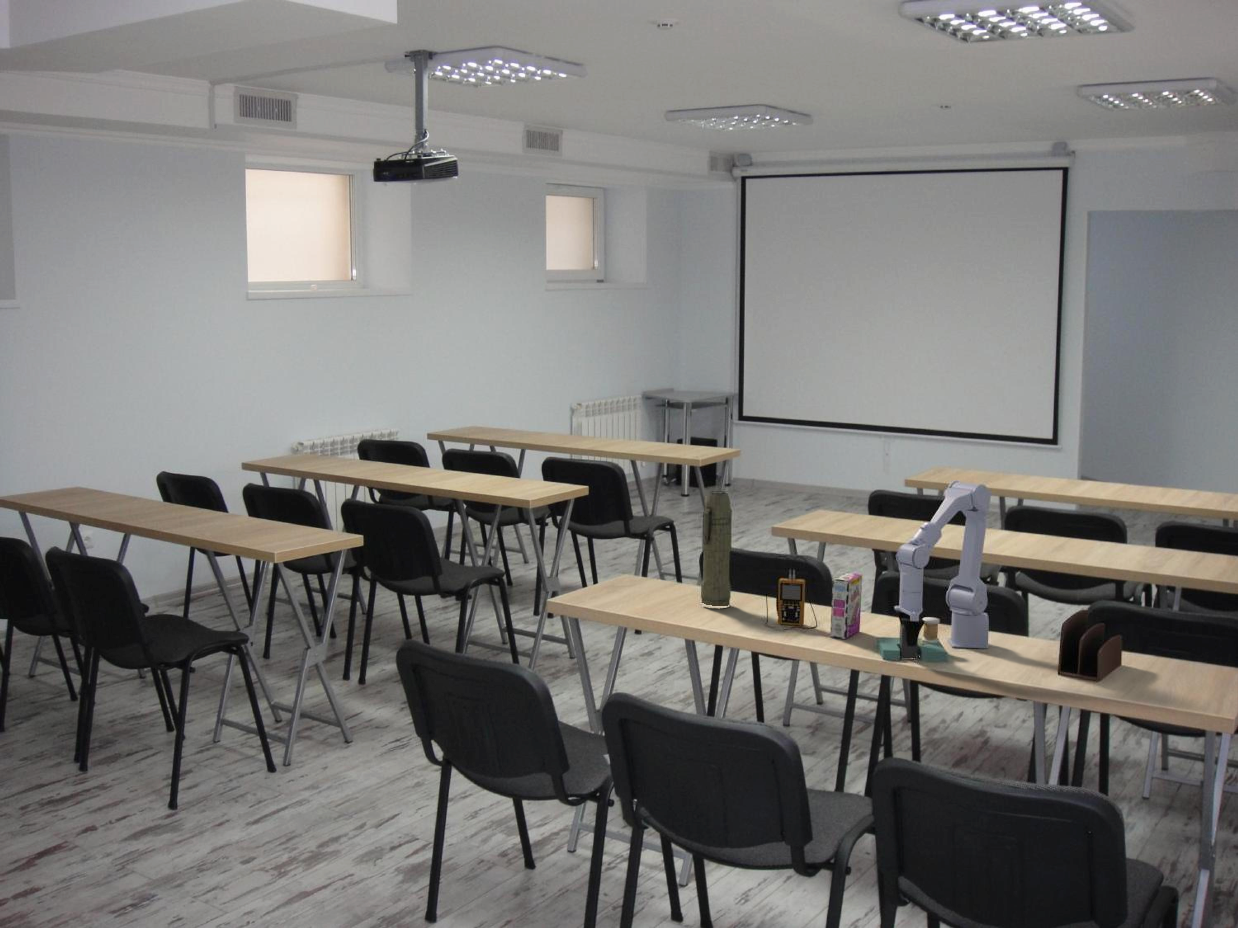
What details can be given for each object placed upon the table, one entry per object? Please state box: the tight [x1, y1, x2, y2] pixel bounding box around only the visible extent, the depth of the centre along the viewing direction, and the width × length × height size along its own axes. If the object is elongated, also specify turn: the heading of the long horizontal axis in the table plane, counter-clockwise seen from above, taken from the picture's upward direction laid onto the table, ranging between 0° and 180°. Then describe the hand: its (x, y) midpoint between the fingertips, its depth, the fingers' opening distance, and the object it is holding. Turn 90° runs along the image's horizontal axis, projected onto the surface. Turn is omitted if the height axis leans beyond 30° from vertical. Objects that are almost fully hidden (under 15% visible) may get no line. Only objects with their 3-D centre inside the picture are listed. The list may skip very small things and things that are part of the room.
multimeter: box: [765, 555, 818, 631], centre depth 342 cm, size 15×10×20 cm
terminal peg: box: [899, 624, 918, 660], centre depth 314 cm, size 4×4×8 cm
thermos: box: [700, 490, 733, 606], centre depth 367 cm, size 9×12×35 cm
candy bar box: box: [829, 572, 863, 640], centre depth 336 cm, size 11×5×16 cm, turn 149°
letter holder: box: [1057, 609, 1123, 683], centre depth 303 cm, size 10×20×14 cm, turn 142°
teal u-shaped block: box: [876, 616, 948, 662], centre depth 317 cm, size 16×13×8 cm
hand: (909, 641), depth 314 cm, fingers open, 7 cm apart
